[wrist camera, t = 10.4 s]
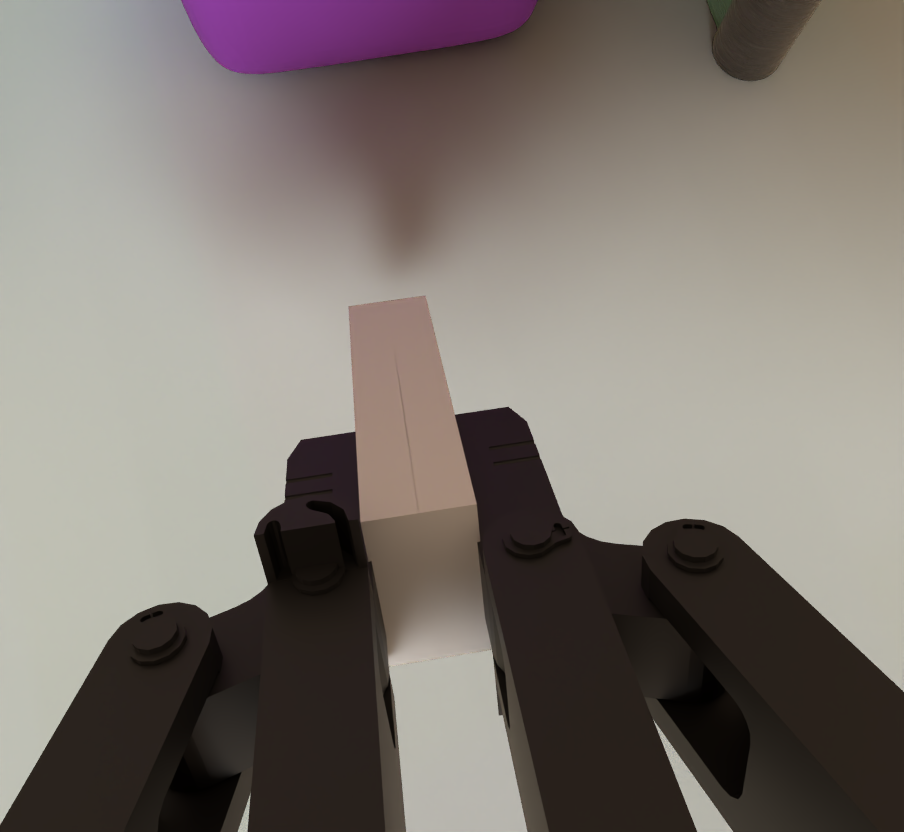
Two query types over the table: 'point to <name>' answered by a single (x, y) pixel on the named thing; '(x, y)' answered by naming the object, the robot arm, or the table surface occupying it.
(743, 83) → the table surface
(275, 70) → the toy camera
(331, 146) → the table surface
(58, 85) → the table surface
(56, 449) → the table surface
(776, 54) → the frame
